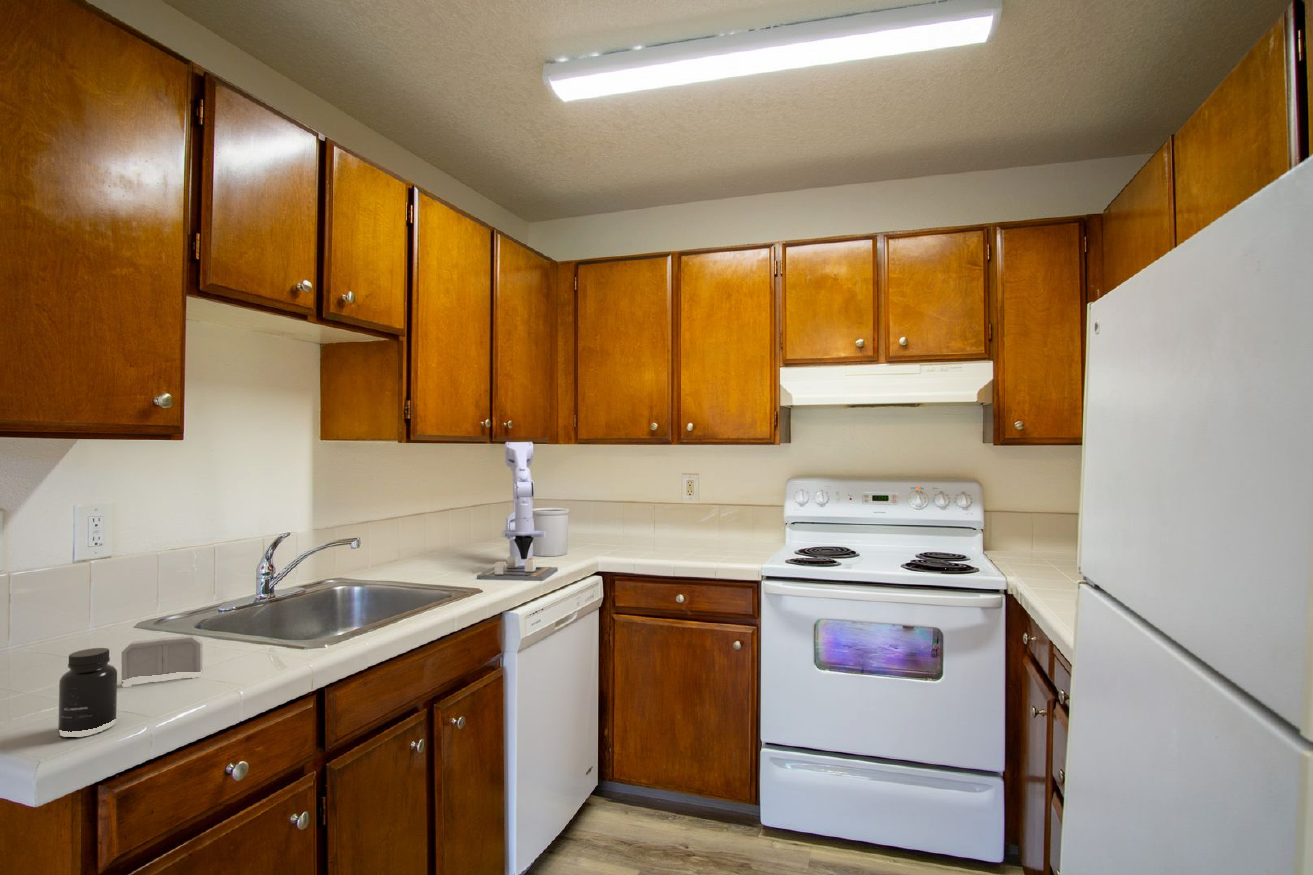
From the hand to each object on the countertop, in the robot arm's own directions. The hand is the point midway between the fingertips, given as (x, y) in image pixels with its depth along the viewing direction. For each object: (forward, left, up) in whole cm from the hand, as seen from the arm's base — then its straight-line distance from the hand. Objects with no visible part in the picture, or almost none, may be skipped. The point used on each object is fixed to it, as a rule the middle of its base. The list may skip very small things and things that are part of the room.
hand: (524, 558), depth 218 cm
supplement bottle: (+121, -27, -6) cm, 124 cm away
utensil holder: (-41, -4, -6) cm, 41 cm away
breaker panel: (0, -2, -5) cm, 6 cm away
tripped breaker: (0, +2, -4) cm, 4 cm away
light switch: (+101, -34, -6) cm, 107 cm away
